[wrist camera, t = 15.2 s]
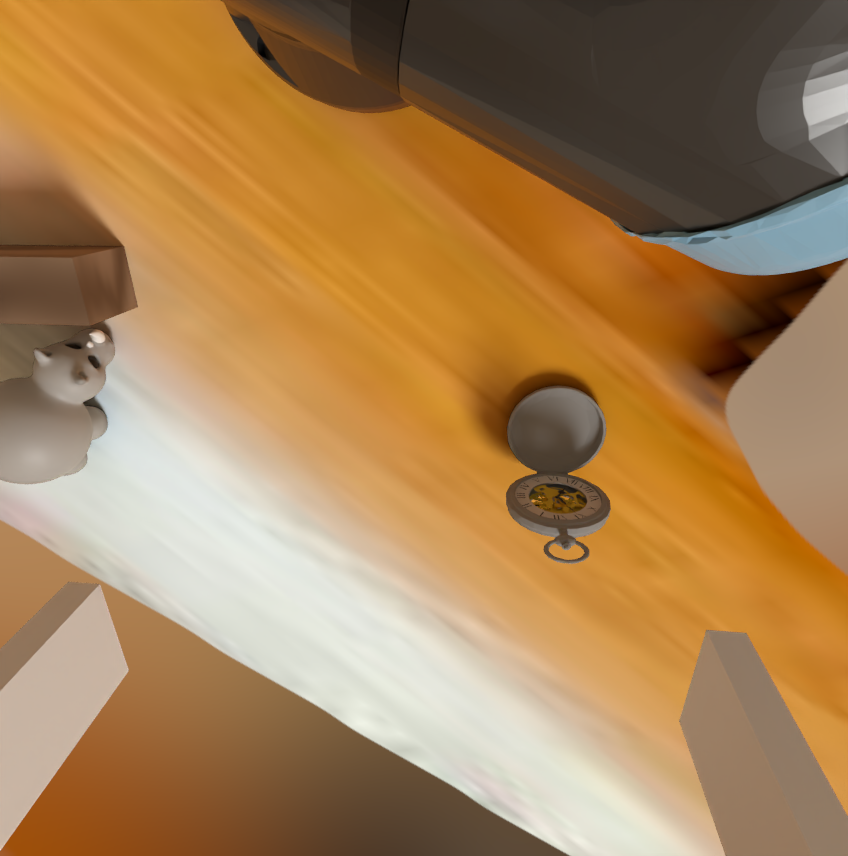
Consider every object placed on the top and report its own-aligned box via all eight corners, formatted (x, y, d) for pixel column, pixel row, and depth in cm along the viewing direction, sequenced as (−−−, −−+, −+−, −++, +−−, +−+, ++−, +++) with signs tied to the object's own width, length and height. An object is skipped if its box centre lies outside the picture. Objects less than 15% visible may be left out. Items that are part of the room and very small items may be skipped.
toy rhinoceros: (171, 362, 42) (130, 367, 34) (81, 485, 43) (18, 519, 34) (87, 303, 41) (21, 293, 32) (-6, 431, 41) (-94, 453, 33)
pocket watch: (574, 364, 36) (602, 430, 27) (631, 459, 39) (674, 548, 30) (470, 423, 39) (464, 500, 30) (530, 508, 41) (541, 603, 32)
